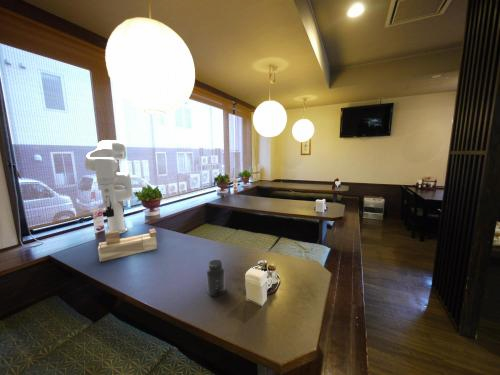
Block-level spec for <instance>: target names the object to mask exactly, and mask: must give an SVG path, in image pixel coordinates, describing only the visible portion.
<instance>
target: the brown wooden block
mask: <svg viewBox="0 0 500 375" xmlns="http://www.w3.org/2000/svg"><path fill="white" fill-rule="evenodd" d="M148 232H149V234H150V237H155V236H156V237H157V231H156V229H155V228H150V229H148Z"/></svg>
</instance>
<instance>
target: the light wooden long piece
mask: <svg viewBox="0 0 500 375" xmlns="http://www.w3.org/2000/svg"><path fill="white" fill-rule="evenodd" d="M141 237H142V242H139V243H134V244H129V245H124V246H119V247H115V248H110V249H105V250H101V244H102V242H98V246H97V251H98V258H99V259H98V260H99V263H101V261H102V262H105V261H106V262H107V261H110V260H114V259H118V258H122V257H123V258H124V257H127V256H131V255H136V254H140V253H144V252H149V251H153V250H157V249H158V246H157V245H158V243H157V235H156V236H155V237H150V234H149V233H144V234H141Z"/></svg>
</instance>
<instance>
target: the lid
mask: <svg viewBox="0 0 500 375" xmlns="http://www.w3.org/2000/svg"><path fill="white" fill-rule="evenodd" d="M120 235H121V234H119V230H117V231H111V232H105V234H104V236H105V241H103V242H101V250H105V249H110V248H115V247H119V246H124V245H129V244H134V243H139V242H142V234H139V235H133V236H128V237H120Z"/></svg>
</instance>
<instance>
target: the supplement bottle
mask: <svg viewBox="0 0 500 375" xmlns="http://www.w3.org/2000/svg"><path fill="white" fill-rule="evenodd" d="M206 284H207V285H206V286H207V293H208V295H209V296H211V297H219V296H222V295H223V294H224V293H225V291H226V275H225V269H224V267H223V264H222V260H220V259H212V260H211V261H209V263H208V269H207V271H206Z"/></svg>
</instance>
